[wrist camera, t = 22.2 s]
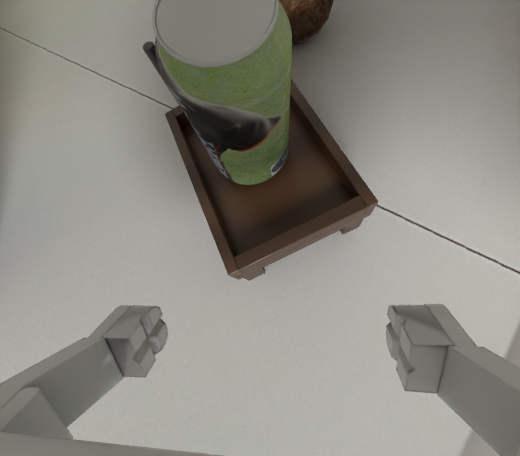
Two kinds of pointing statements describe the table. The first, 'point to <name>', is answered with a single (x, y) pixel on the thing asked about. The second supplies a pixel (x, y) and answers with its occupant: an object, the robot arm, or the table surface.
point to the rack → (275, 192)
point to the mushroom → (306, 17)
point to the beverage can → (230, 79)
